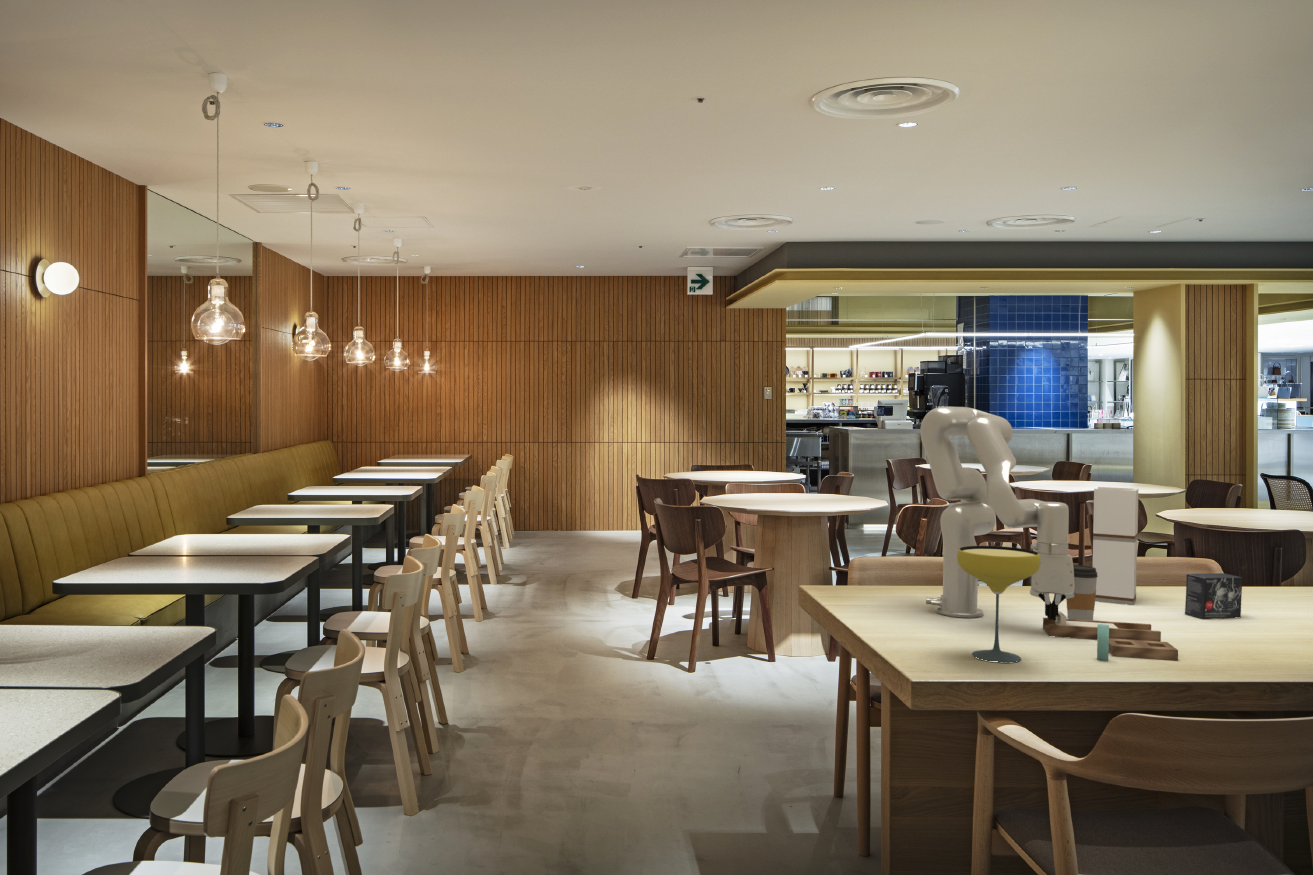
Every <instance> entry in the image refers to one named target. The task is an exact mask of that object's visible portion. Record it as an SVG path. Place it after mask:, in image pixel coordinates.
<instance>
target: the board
mask: <svg viewBox="0 0 1313 875" xmlns="http://www.w3.org/2000/svg"><path fill="white" fill-rule="evenodd" d="M1066 621H1079V622H1096V623H1112V624H1114V625H1115V626H1116V627H1117V628H1109V638H1112V639H1127V640H1143V641H1159V642H1162V631H1161V630H1152V624H1151V623H1138V622H1124V621H1123V622H1122V621H1107V620H1105V621H1103V620H1092V621H1091V620H1075V619H1069V618H1066ZM1043 629H1044V630H1043ZM1042 630H1043V632H1045V633H1046V634H1047V636H1048V637H1049V636H1055V637H1054V638H1064V637H1070V638H1069V639H1083V640H1095V641H1096V640H1097V633H1098V627H1087V626H1071V625H1056V624H1055V620H1053V619H1051V620H1049V619H1048V618H1047V617H1042Z"/></svg>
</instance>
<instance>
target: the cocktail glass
mask: <svg viewBox="0 0 1313 875" xmlns="http://www.w3.org/2000/svg"><path fill="white" fill-rule="evenodd" d="M957 559H958V564H959V566H960V567H961V568H962V569H963V570H964V571H966V572H967V573H969V574H970V575H972V576H974V577H975V578H977V579H978V581H981V582H982V583H984V584H985V585H986V586H987V587H988V588H989V589H990V591H991V592H992V593H993V594H995V622H994V623H995V626H994V627H995V628H994V630H995V631H994V643H993V647H992V649H982V650H980V649H979V650H976V651H973V652H971V655H973V656H974V658H975V657H977V658H979V659H983V660H987V661H998V662H1016V661H1019V662H1021V661H1022V657H1021V656H1019V655H1018V654H1015V653H1012V652H1008V651H1004V650H1001V647H1000V640H999V620H1000V619H999V610H1000V608H999V607H1000V606H999V605H1000V604H999V603H1000V595H1002V594H1003V593H1004V592H1005V591H1006V590H1007V588H1008V587H1010V586H1011V585H1014V584H1016V583H1019V582H1021V581H1023V580H1026V579H1028V578H1031V576H1032V575H1033V574H1035V573H1036V572H1037V571H1038V569H1039V567H1040V555H1039V553H1038V552H1037V551H1036V550H1033V549H1026V548H1019V547H1014V546H1013V547H1011V546H1001V545H999V546H998V545H977V546H966V547H961V548H959V550H958V555H957ZM973 656H972V657H973ZM977 658H976V659H977ZM979 659H978V660H979ZM983 660H982V661H983ZM1020 660H1021V661H1020ZM987 661H986V662H987ZM1016 663H1017V662H1016Z"/></svg>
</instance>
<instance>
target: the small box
mask: <svg viewBox="0 0 1313 875" xmlns="http://www.w3.org/2000/svg"><path fill="white" fill-rule="evenodd" d="M1185 587H1186V588H1185V606H1184V607H1185V608H1184V615H1187V616H1190V615H1191V616H1192V617H1193V618H1194V617H1195V618H1198V619H1201V620H1210V619H1209V618H1222V619H1236V618H1235V617H1242V616H1241V614H1242V595H1243V594H1242V593H1243V592H1242V591H1243V577H1242V576H1237V575H1233V574H1230V573H1229V574H1228V573H1224V572H1223V573H1222V572H1220V573H1219V572H1218V573H1217V572H1216V573H1214V572H1213V573H1211V572H1210V573H1186V585H1185ZM1191 616H1190V617H1191Z"/></svg>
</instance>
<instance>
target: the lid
mask: <svg viewBox="0 0 1313 875" xmlns="http://www.w3.org/2000/svg"><path fill="white" fill-rule="evenodd" d="M1066 619H1067V616H1066V615H1065V613H1063V612H1062V610H1058V616H1056V620H1055V624H1056V625H1071V626H1087V627H1098V624H1105V625H1109V628H1117V627H1116V626H1115V625H1114V624H1112V623H1096V622H1079V621H1066Z"/></svg>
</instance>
